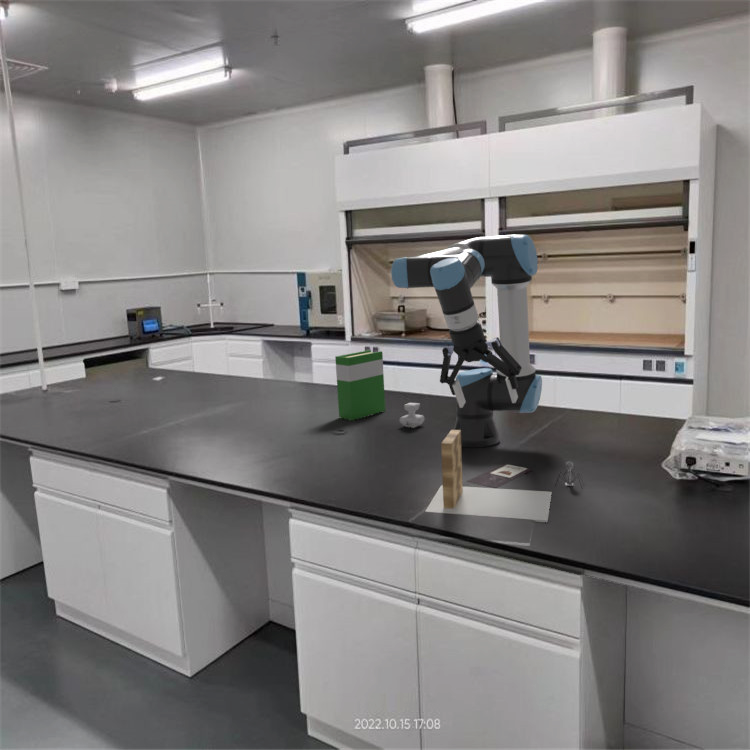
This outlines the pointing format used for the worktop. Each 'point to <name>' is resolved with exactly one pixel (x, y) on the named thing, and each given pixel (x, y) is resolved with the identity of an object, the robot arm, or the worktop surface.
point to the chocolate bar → (499, 475)
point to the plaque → (452, 468)
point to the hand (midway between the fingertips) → (488, 402)
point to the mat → (497, 503)
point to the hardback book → (360, 384)
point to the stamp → (412, 416)
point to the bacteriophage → (569, 474)
